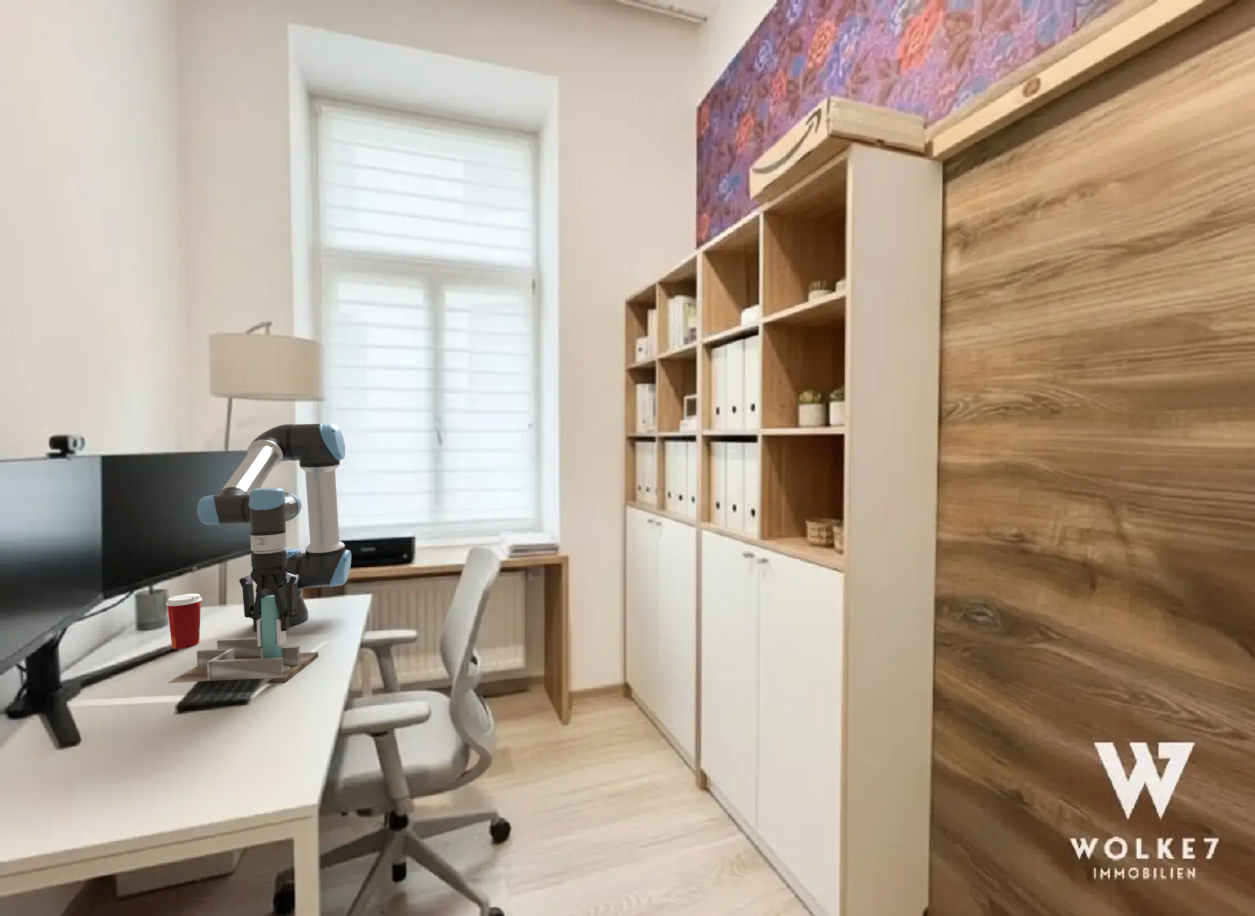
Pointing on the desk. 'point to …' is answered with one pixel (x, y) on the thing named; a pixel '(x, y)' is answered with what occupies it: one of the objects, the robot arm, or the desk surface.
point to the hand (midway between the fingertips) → (271, 644)
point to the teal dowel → (269, 627)
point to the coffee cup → (184, 620)
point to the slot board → (246, 662)
